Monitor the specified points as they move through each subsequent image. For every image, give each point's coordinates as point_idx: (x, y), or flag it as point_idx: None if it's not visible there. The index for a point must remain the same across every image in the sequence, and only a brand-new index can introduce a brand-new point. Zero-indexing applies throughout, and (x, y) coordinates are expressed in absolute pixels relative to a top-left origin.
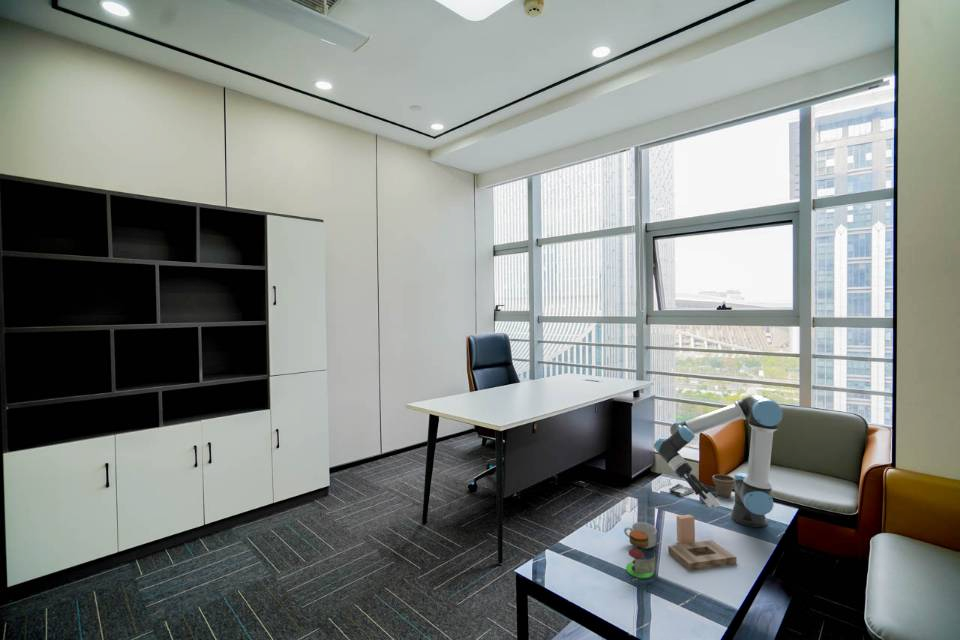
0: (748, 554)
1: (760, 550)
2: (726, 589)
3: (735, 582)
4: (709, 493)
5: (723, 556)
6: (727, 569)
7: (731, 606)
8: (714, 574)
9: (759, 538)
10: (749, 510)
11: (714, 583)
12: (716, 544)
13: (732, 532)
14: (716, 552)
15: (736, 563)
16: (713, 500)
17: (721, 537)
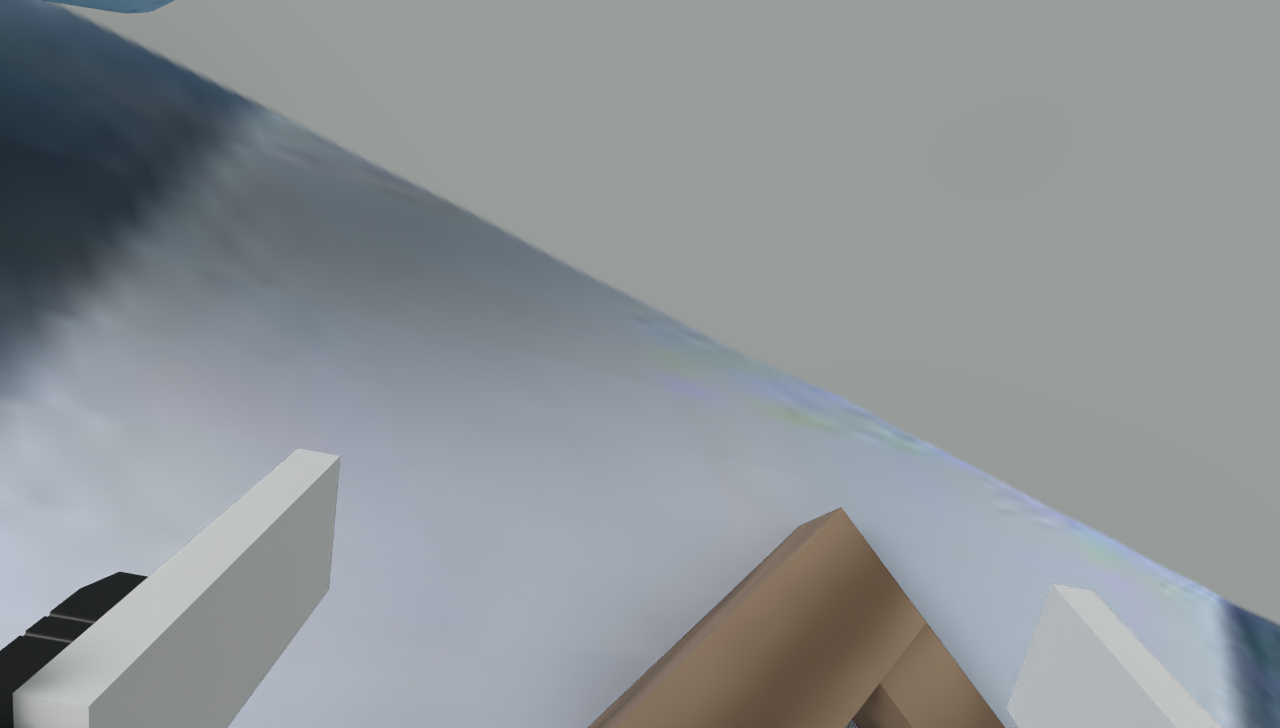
0: (590, 393)
1: (465, 270)
2: None
3: (1024, 571)
4: (123, 704)
5: (895, 621)
6: None
7: (1225, 624)
8: None
9: (162, 187)
10: (151, 7)
11: None
12: (701, 679)
13: (40, 445)
14: (862, 685)
15: (803, 525)
16: (263, 603)
17: None
